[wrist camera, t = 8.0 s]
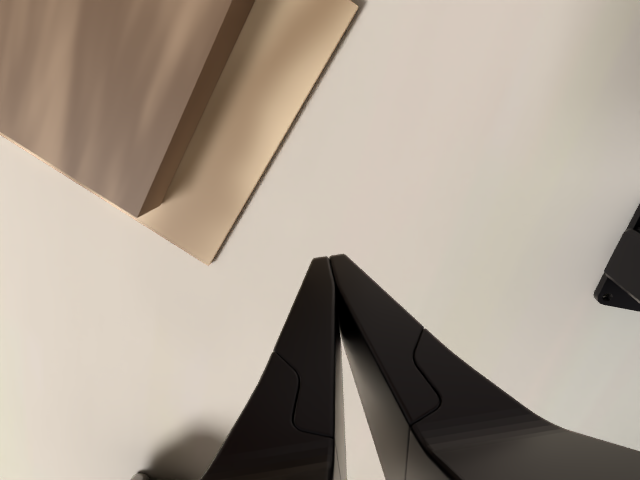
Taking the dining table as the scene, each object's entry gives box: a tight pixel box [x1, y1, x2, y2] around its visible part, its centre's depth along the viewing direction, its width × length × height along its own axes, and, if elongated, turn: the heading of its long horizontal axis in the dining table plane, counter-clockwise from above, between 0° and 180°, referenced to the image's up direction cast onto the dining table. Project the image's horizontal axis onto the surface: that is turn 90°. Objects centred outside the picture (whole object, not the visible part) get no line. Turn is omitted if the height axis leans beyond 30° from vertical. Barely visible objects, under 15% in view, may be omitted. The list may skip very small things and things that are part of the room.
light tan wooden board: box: [0, 0, 359, 266], centre depth 20 cm, size 18×17×1 cm
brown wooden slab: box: [0, 0, 255, 218], centre depth 18 cm, size 2×15×12 cm
